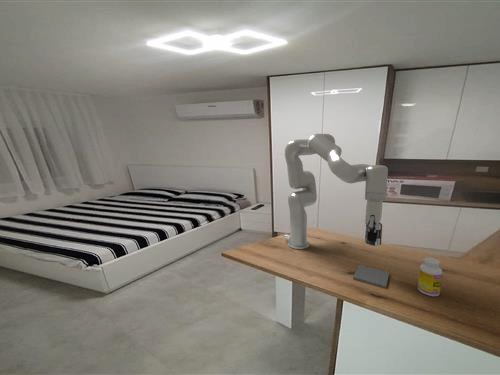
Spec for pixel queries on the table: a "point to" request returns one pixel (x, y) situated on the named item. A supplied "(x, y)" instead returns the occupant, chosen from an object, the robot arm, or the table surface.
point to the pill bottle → (379, 235)
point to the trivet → (371, 276)
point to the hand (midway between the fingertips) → (373, 237)
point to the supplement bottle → (430, 277)
